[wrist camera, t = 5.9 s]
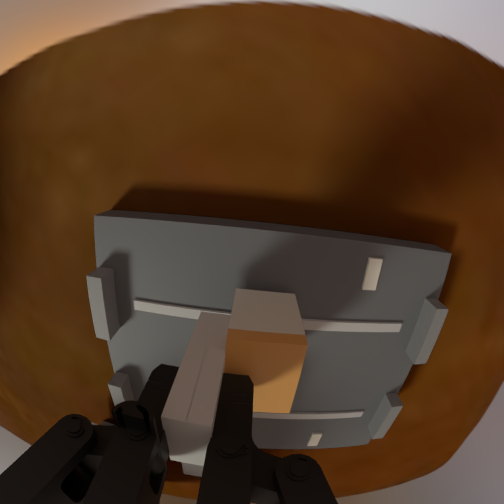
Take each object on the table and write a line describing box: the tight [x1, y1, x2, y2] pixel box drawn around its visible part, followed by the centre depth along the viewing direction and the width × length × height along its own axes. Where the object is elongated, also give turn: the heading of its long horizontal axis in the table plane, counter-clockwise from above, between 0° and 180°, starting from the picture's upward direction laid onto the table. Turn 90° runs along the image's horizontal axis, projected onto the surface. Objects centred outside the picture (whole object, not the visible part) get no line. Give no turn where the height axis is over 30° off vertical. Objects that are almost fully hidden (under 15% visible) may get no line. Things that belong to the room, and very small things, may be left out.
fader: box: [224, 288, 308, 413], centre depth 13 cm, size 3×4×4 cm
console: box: [86, 210, 452, 449], centre depth 17 cm, size 21×18×4 cm
